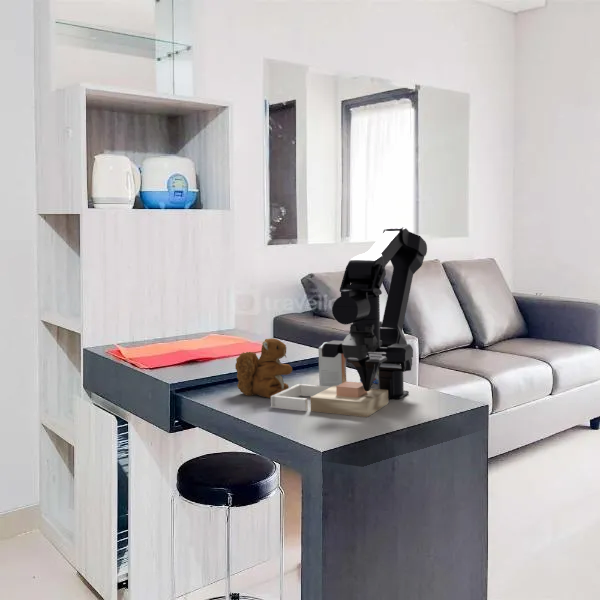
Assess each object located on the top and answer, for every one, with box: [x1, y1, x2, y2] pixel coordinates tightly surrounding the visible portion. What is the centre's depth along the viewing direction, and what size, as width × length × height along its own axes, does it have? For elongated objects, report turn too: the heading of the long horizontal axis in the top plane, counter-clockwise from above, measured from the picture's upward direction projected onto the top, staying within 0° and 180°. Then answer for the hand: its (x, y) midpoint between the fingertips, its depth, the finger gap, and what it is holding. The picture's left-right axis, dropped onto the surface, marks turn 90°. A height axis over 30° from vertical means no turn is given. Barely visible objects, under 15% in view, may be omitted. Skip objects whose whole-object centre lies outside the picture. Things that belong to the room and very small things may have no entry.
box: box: [270, 383, 330, 412], centre depth 163 cm, size 13×8×2 cm, turn 152°
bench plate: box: [309, 385, 389, 418], centre depth 157 cm, size 12×13×3 cm
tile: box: [336, 380, 367, 397], centre depth 157 cm, size 5×5×2 cm
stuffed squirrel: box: [235, 337, 293, 399], centre depth 171 cm, size 10×14×13 cm
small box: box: [317, 341, 347, 387], centre depth 176 cm, size 8×6×10 cm
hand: (367, 390), depth 155 cm, fingers closed
